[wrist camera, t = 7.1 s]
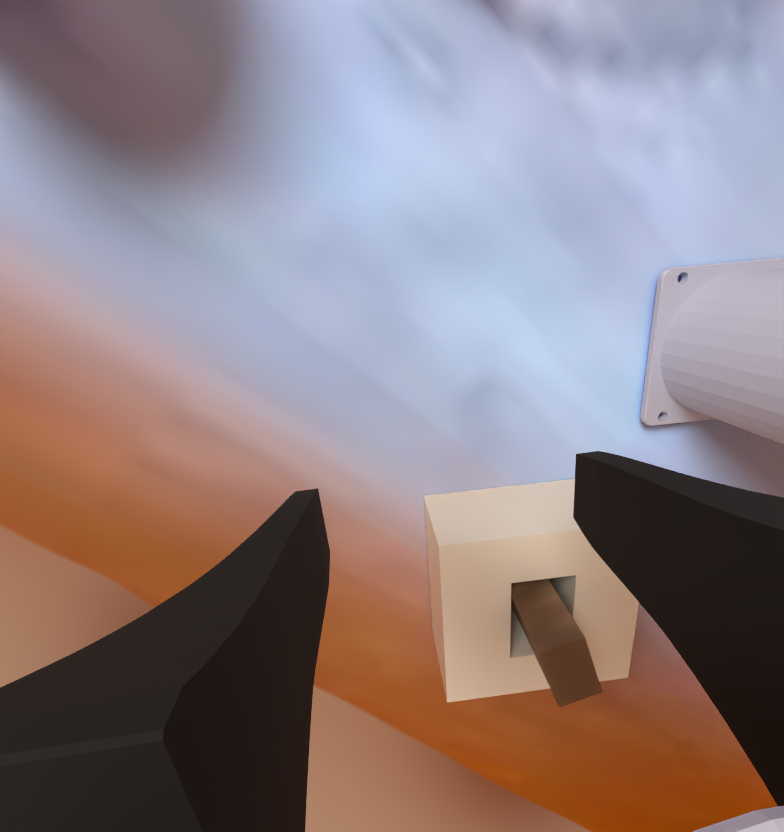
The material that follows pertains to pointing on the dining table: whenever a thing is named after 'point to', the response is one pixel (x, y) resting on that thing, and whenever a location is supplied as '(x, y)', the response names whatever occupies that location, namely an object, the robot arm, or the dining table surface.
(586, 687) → the brown rectangular block
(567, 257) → the dining table surface
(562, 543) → the cream square hole block
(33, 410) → the dining table surface
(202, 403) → the dining table surface
